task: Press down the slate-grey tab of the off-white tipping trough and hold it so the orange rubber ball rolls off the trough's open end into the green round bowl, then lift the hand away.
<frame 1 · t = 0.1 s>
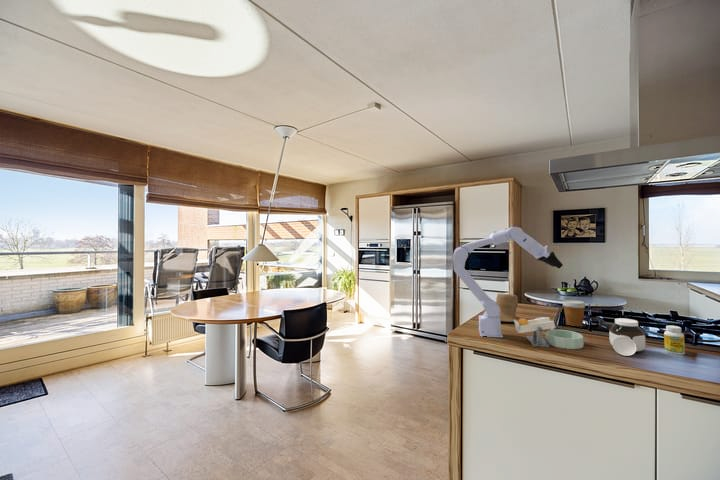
hand: (558, 265, 135), 32 cm above the countertop, tool tilted 50°, fingers open, 7 cm apart
green round bowl: (564, 343, 128), on the countertop
launcher stand: (537, 342, 131), on the countertop
supplement bottle: (674, 352, 115), on the countertop
tipping trough: (531, 321, 135), point 8 cm above the countertop, hinge at -12.0°, touching ball
disposable coffee cup: (574, 326, 152), on the countertop
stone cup: (504, 321, 165), on the countertop
ball: (523, 323, 133), point 8 cm above the countertop, touching tipping trough
spread jar: (627, 352, 117), on the countertop
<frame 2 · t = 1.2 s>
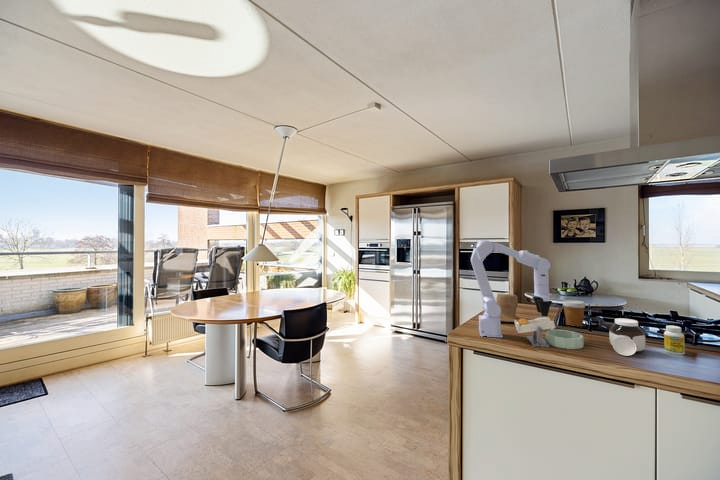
hand: (542, 314, 138), 10 cm above the countertop, tool pointing down, fingers open, 6 cm apart
nothing on the countertop moved.
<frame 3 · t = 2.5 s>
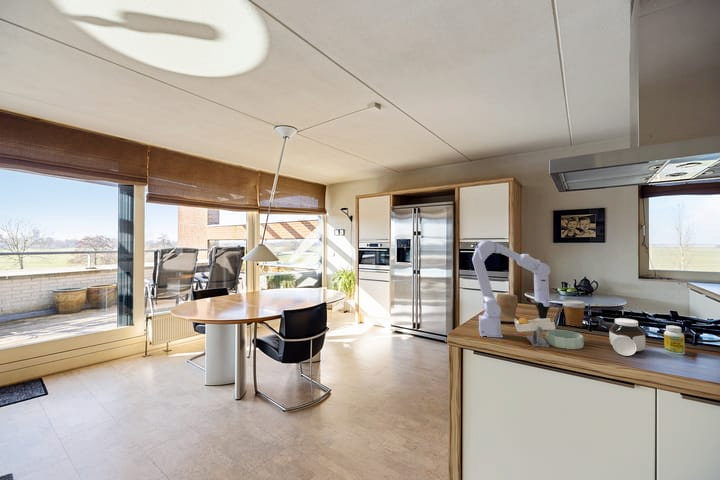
hand: (542, 319, 138), 8 cm above the countertop, tool pointing down, fingers closed, pressing on tipping trough
tipping trough: (531, 321, 135), point 8 cm above the countertop, hinge at -7.8°, touching ball, gripper
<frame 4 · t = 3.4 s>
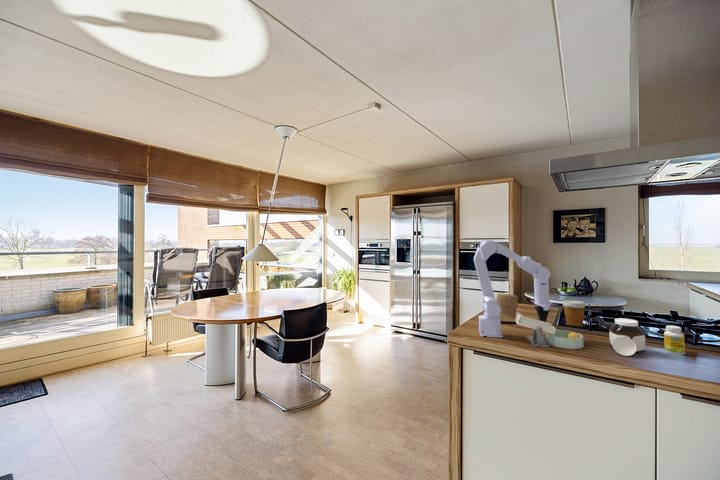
hand: (542, 322, 138), 6 cm above the countertop, tool pointing down, fingers closed, pressing on tipping trough
tipping trough: (532, 320, 135), point 8 cm above the countertop, hinge at 14.3°, touching gripper
ball: (573, 337, 127), point 3 cm above the countertop, tilted 148°, touching green round bowl
everything else where it was.
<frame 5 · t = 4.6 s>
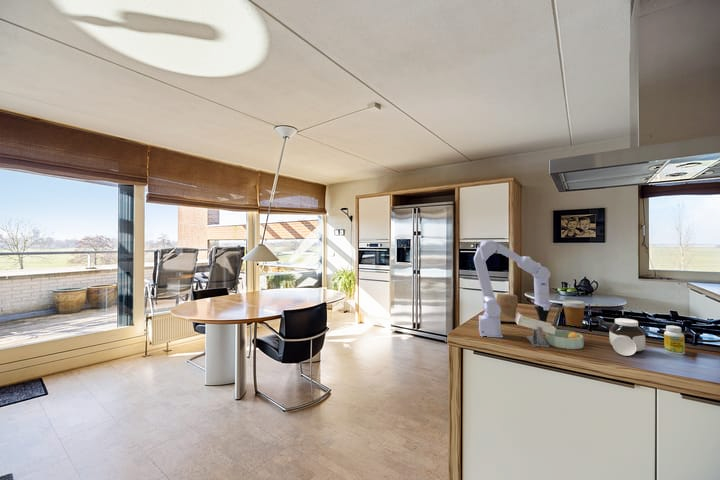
hand: (542, 322, 138), 6 cm above the countertop, tool pointing down, fingers closed, pressing on tipping trough
tipping trough: (532, 320, 135), point 8 cm above the countertop, hinge at 14.3°, touching gripper
everything else where it was.
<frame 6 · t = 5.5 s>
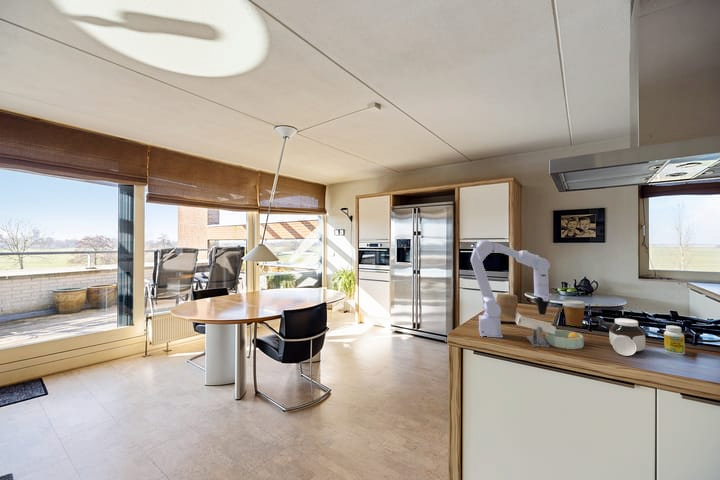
hand: (542, 314, 138), 10 cm above the countertop, tool pointing down, fingers closed
tipping trough: (532, 320, 135), point 8 cm above the countertop, hinge at 12.9°
everything else where it was.
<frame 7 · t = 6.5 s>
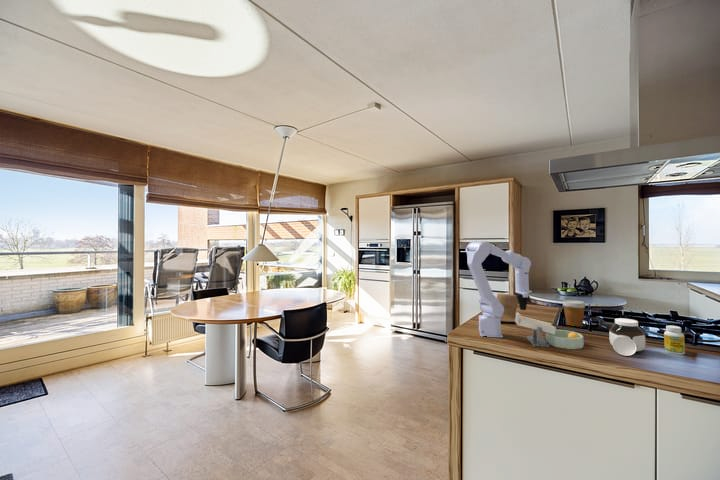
hand: (522, 309, 148), 10 cm above the countertop, tool pointing down, fingers closed
nothing on the countertop moved.
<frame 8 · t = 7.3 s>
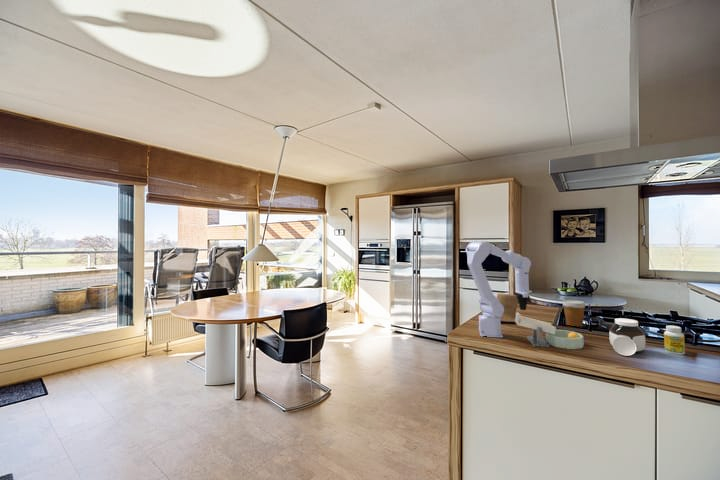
hand: (522, 309, 148), 10 cm above the countertop, tool pointing down, fingers closed
nothing on the countertop moved.
at the end: ball inside the target area on the green round bowl (3.4 cm from its centre), point 2.8 cm above the green round bowl's base; ball touching green round bowl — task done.
